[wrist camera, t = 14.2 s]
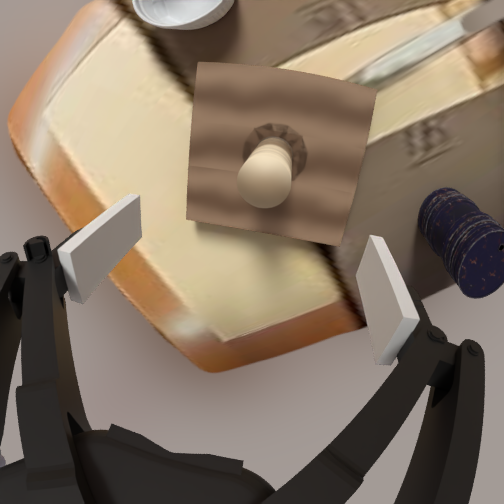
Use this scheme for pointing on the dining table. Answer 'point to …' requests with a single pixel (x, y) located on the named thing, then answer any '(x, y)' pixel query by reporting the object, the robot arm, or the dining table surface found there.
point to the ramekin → (181, 12)
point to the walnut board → (288, 128)
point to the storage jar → (464, 241)
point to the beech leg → (267, 173)
